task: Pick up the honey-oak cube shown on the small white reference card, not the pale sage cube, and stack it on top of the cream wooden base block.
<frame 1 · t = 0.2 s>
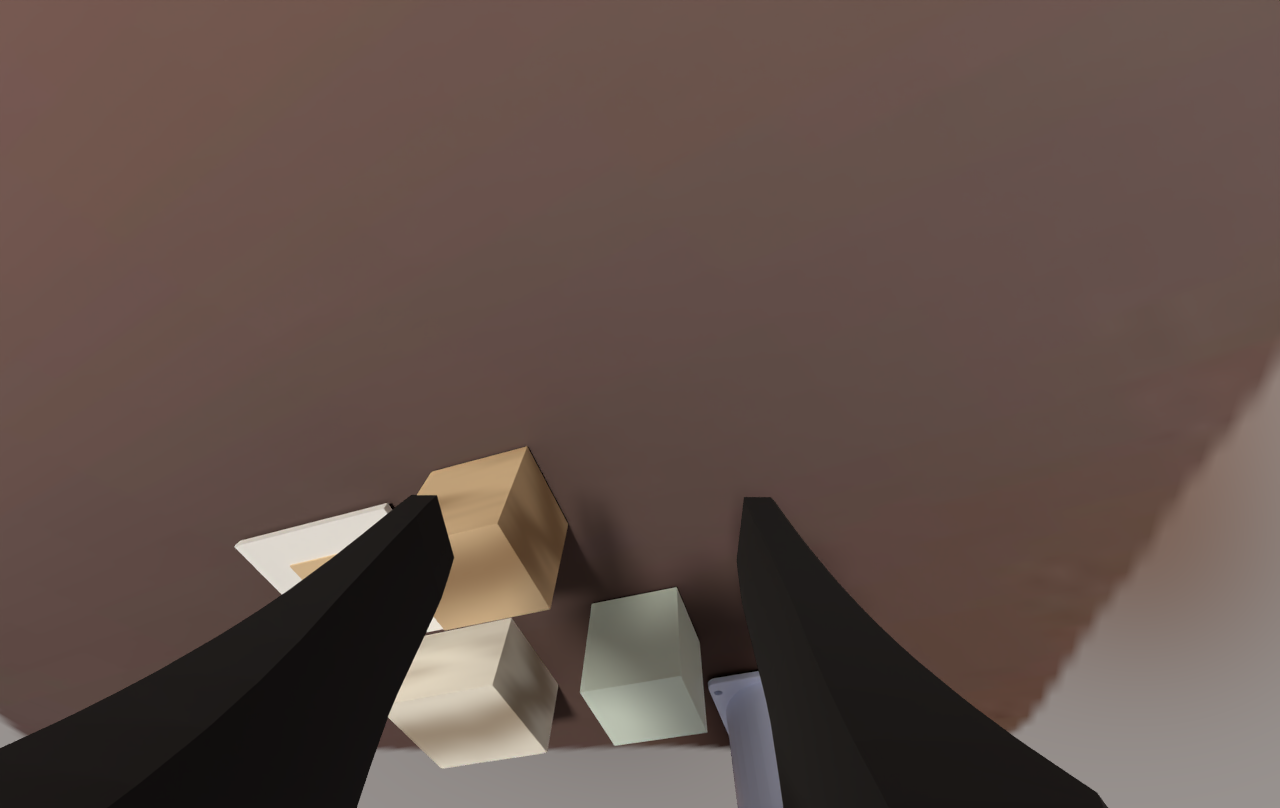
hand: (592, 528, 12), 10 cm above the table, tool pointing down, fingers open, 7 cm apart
reference card: (361, 580, 27), on the table
sage cube: (647, 623, 29), on the table
oak cube: (501, 498, 24), on the table
base block: (486, 662, 31), on the table
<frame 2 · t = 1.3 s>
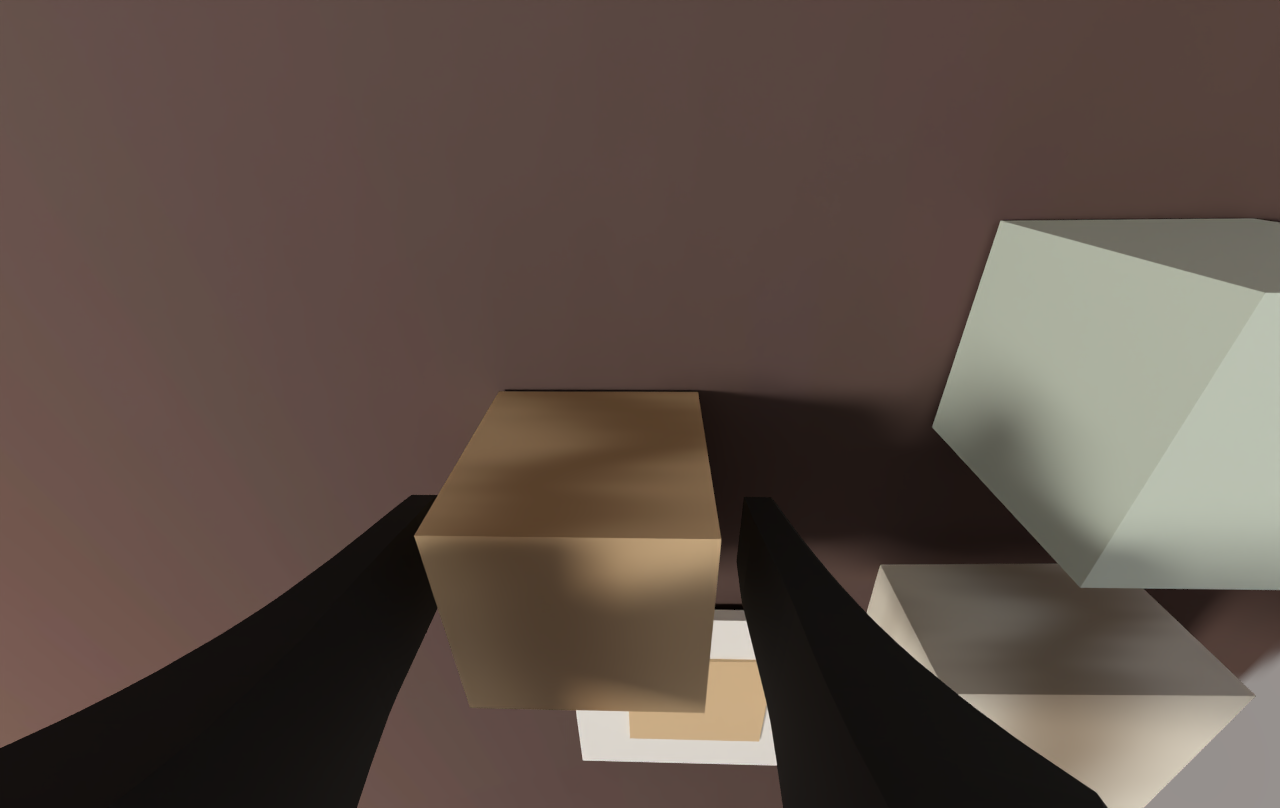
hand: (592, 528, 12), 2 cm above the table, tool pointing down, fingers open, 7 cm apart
reference card: (696, 689, 18), on the table
sage cube: (1073, 334, 11), on the table
oak cube: (602, 471, 14), on the table
base block: (963, 635, 17), on the table
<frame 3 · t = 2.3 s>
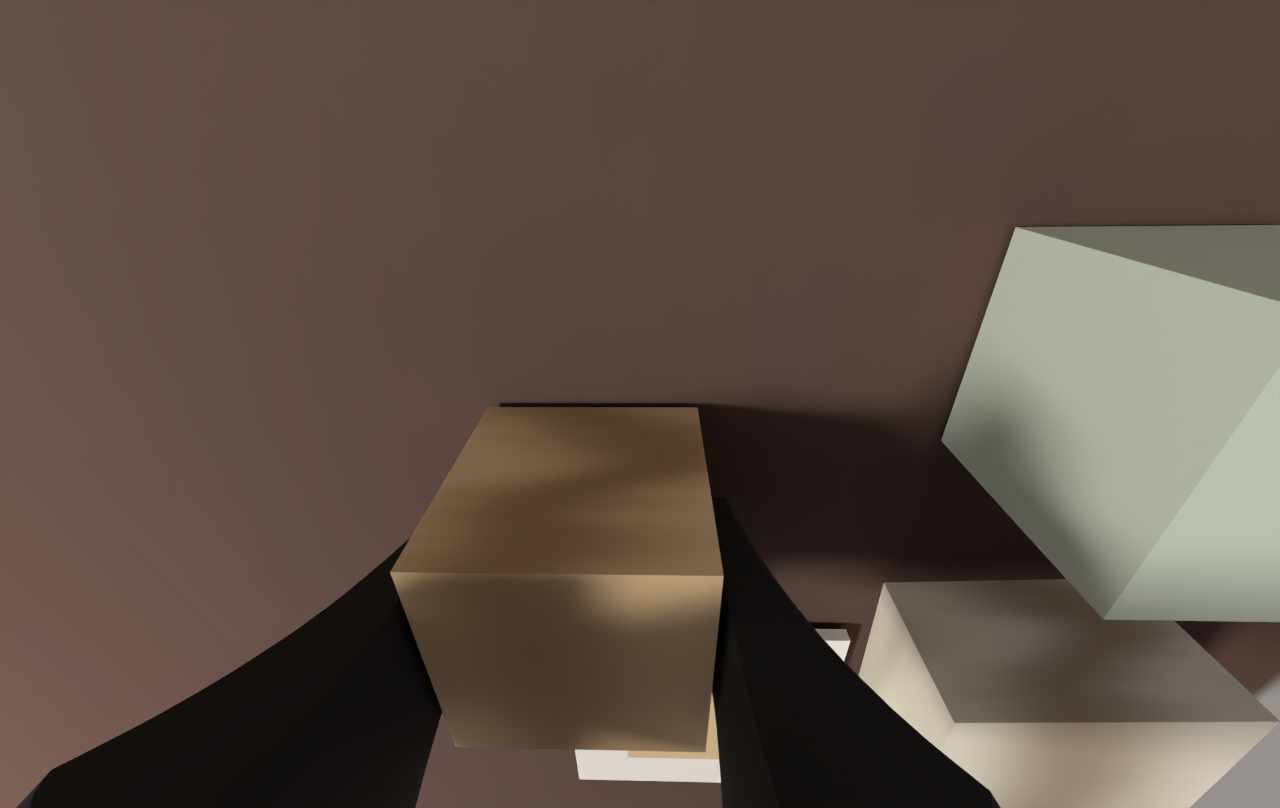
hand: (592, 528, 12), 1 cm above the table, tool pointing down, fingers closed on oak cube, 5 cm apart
reference card: (695, 707, 18), on the table
sage cube: (1090, 346, 11), on the table
oak cube: (597, 489, 13), on the table, touching gripper
base block: (971, 652, 16), on the table
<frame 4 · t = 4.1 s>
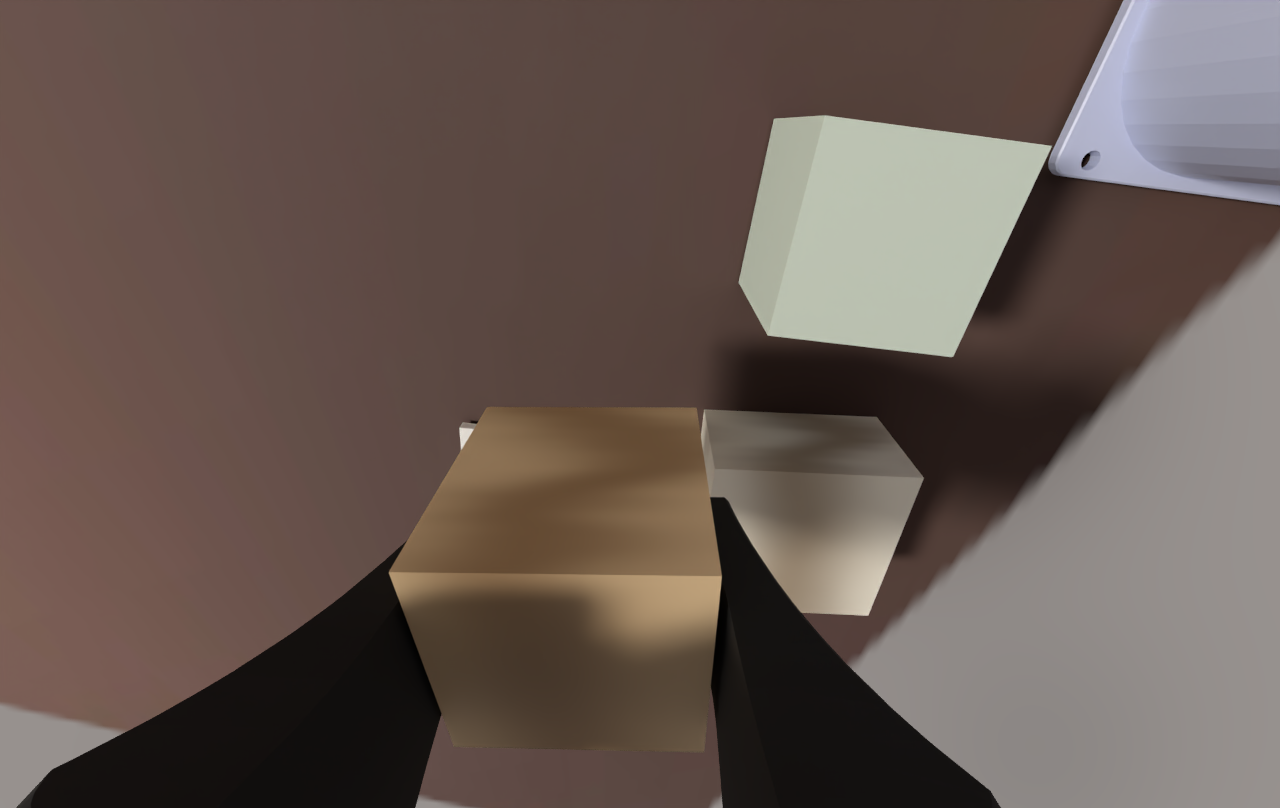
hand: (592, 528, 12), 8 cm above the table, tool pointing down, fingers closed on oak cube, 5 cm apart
sage cube: (830, 216, 16), on the table
oak cube: (596, 489, 13), point 7 cm above the table, touching gripper
base block: (775, 481, 22), on the table
when the fingers open (7 cm above the table, at t = 5.9 s): oak cube drops 2 cm, point 4 cm above the table.
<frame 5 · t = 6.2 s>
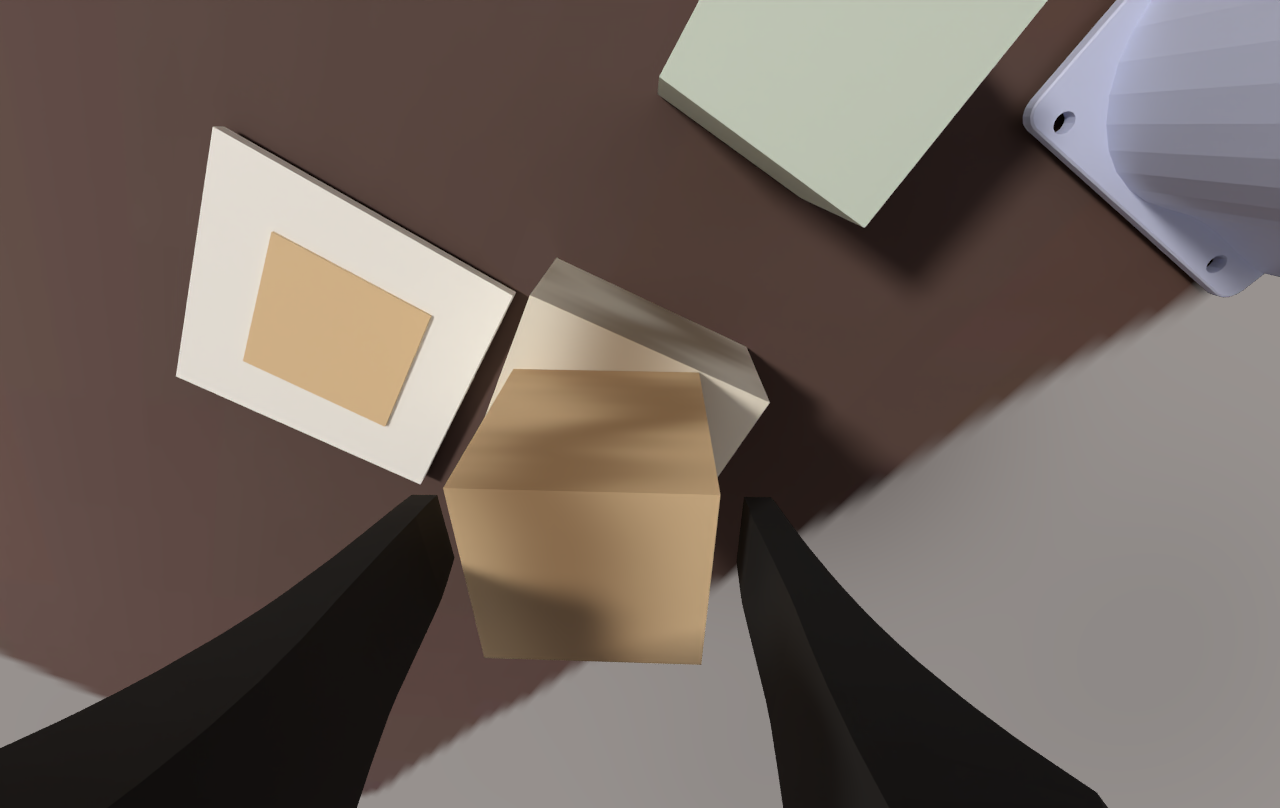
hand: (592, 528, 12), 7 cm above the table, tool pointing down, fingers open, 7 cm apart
reference card: (342, 333, 17), on the table
sage cube: (790, 56, 13), on the table
oak cube: (608, 447, 14), point 4 cm above the table
base block: (613, 387, 18), on the table
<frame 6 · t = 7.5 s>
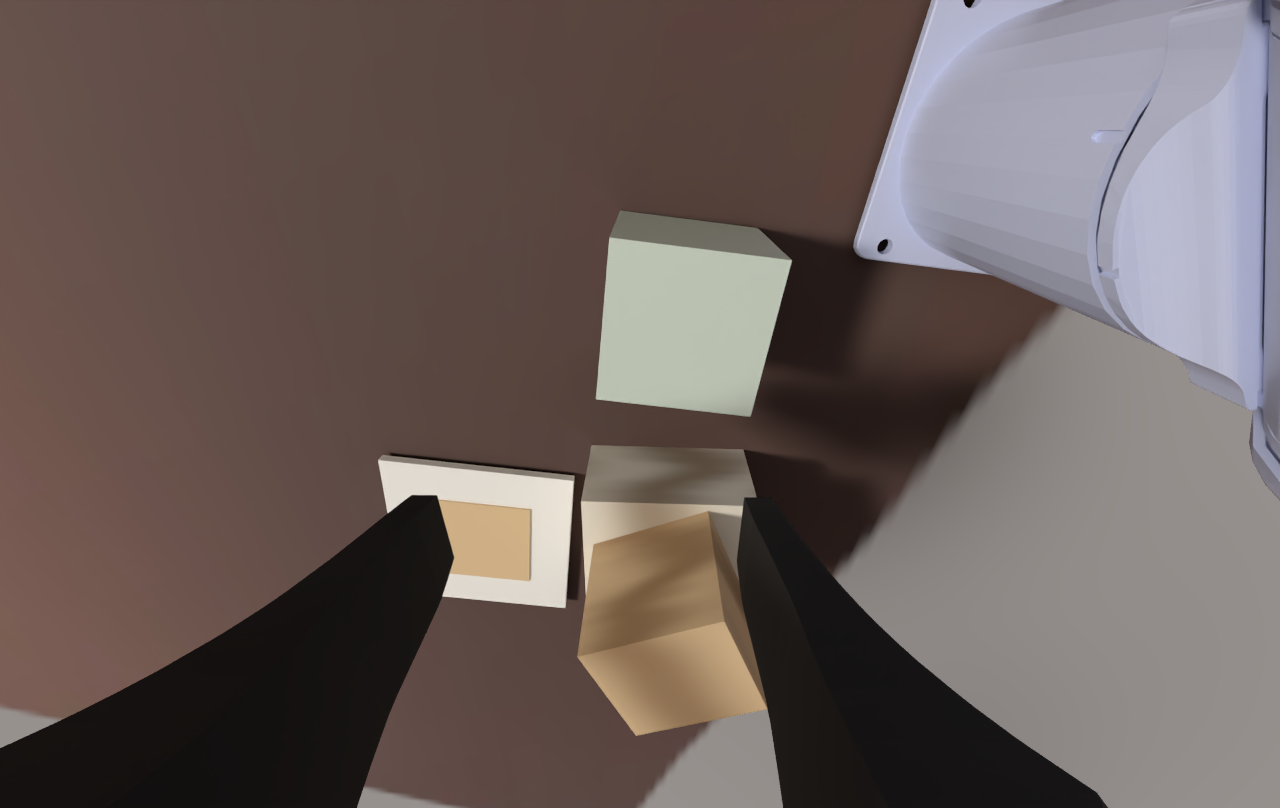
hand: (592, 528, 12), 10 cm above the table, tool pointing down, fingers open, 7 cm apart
reference card: (483, 535, 25), on the table
sage cube: (678, 287, 19), on the table
oak cube: (670, 569, 21), point 4 cm above the table, touching base block
base block: (664, 504, 24), on the table, touching oak cube
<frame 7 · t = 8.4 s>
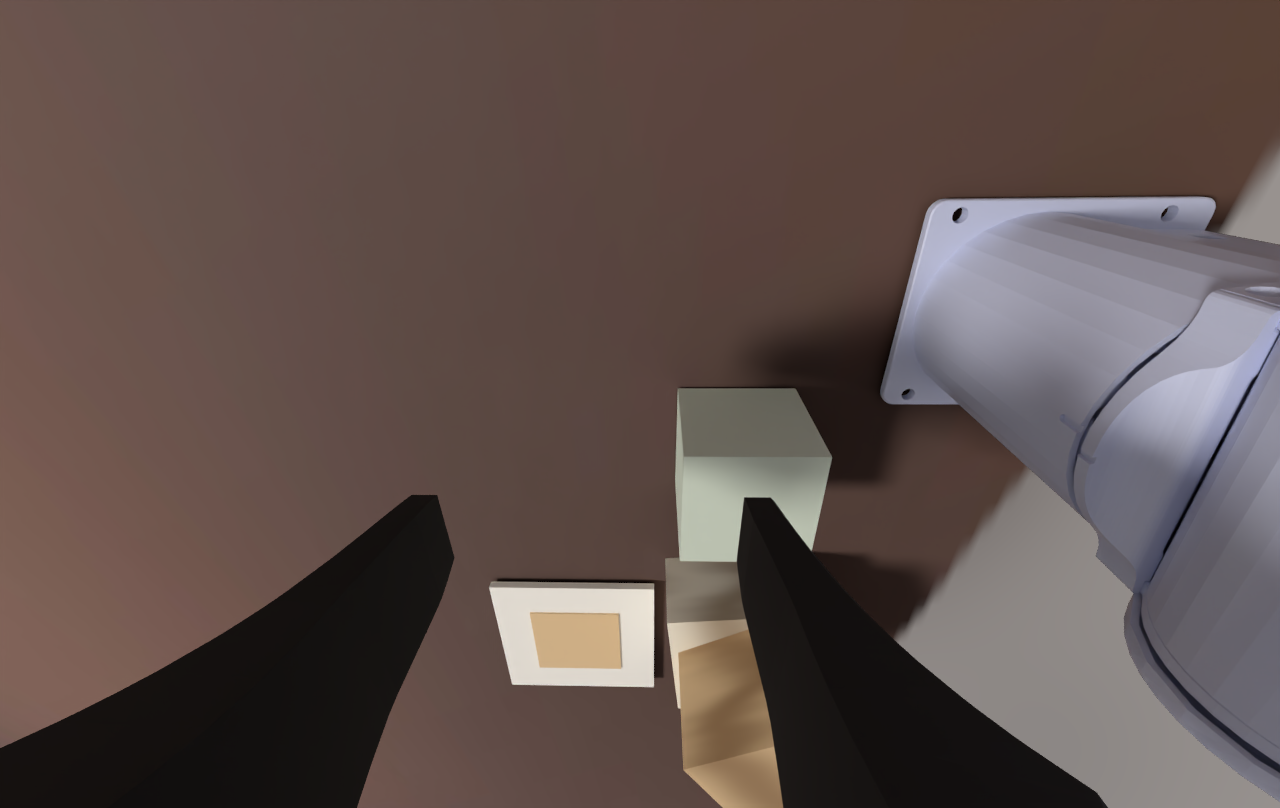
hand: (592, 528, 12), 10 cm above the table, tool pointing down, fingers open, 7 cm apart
reference card: (578, 634, 29), on the table
sage cube: (731, 437, 22), on the table
oak cube: (746, 665, 24), point 4 cm above the table, touching base block
base block: (732, 598, 28), on the table, touching oak cube
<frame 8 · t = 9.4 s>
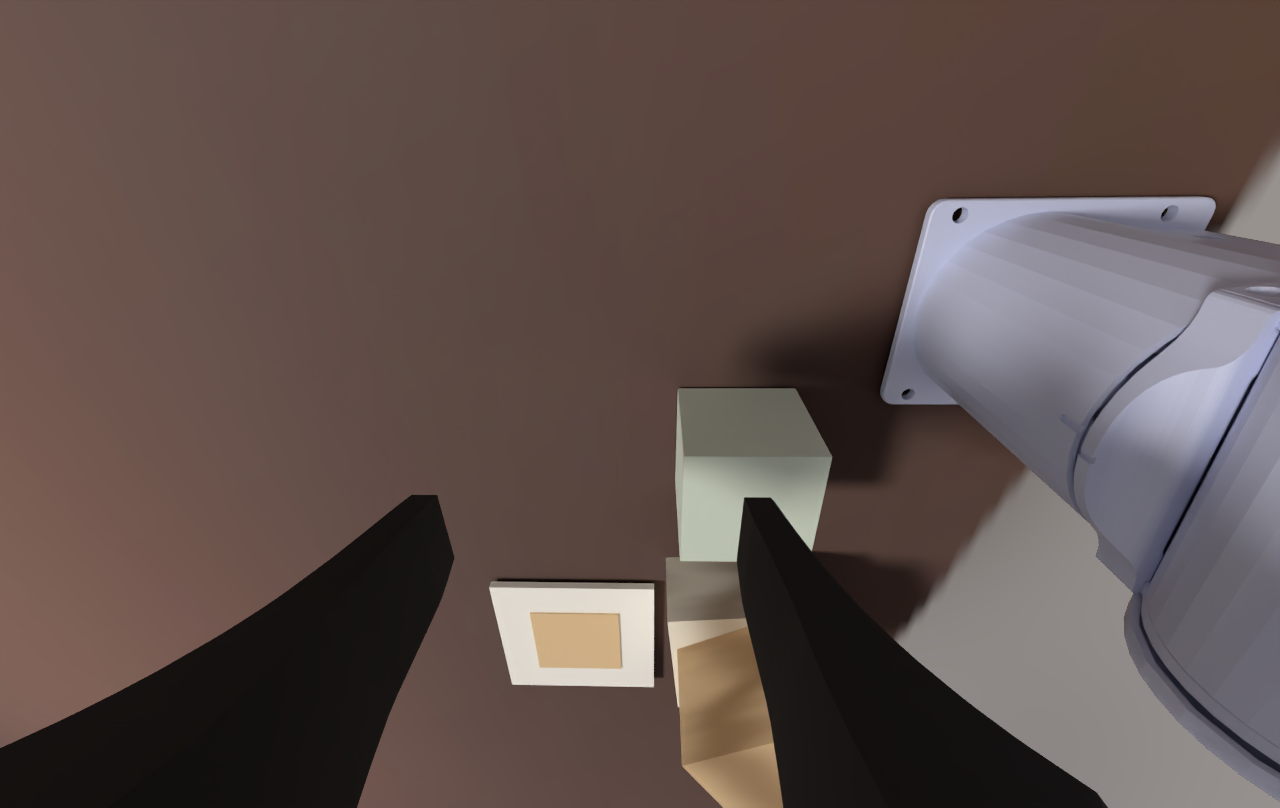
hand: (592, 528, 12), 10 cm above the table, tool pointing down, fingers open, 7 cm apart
reference card: (578, 634, 29), on the table
sage cube: (731, 437, 22), on the table
oak cube: (745, 663, 24), point 4 cm above the table, touching base block
base block: (732, 597, 28), on the table, touching oak cube
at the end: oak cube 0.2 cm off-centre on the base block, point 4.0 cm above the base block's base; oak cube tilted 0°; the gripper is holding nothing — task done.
